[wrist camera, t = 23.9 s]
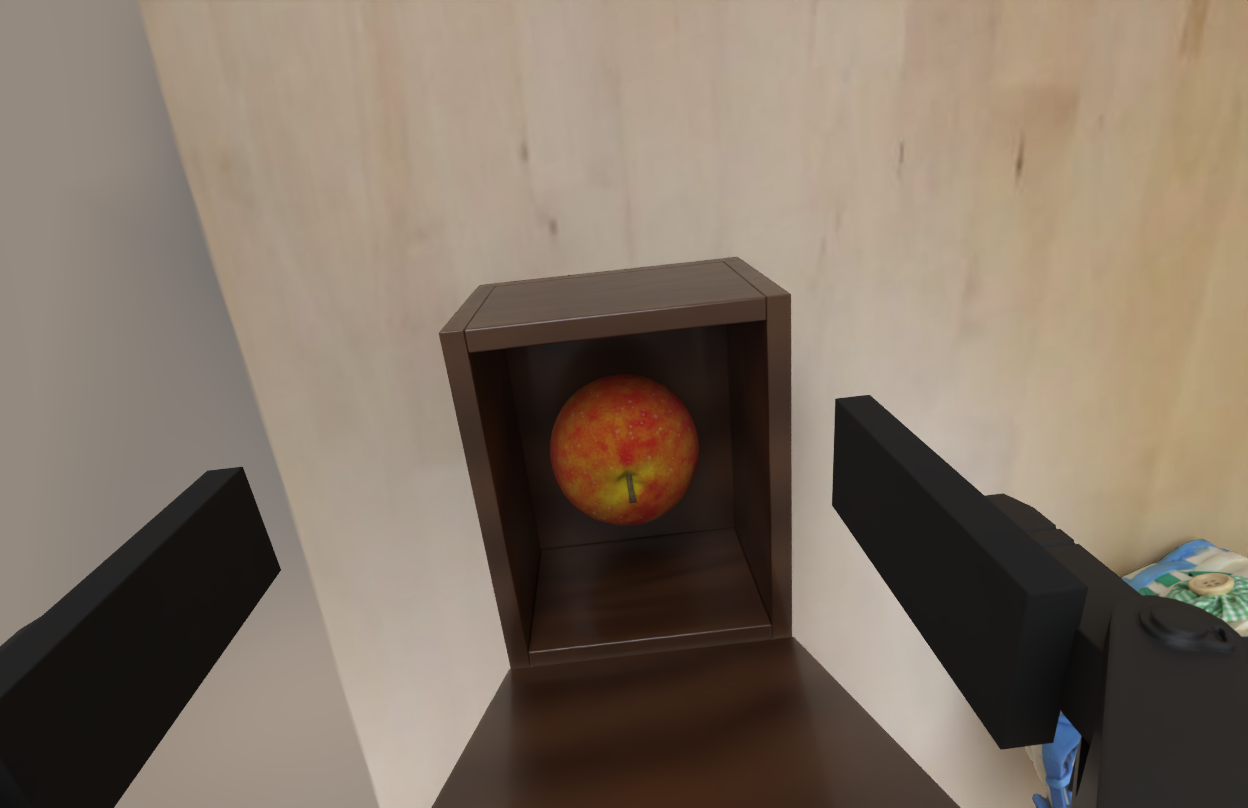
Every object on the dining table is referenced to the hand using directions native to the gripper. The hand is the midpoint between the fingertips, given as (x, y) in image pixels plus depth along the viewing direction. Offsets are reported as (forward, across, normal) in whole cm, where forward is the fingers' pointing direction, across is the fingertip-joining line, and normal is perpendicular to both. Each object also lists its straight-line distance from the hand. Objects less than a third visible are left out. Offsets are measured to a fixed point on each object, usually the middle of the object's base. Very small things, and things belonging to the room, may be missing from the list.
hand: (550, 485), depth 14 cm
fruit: (+18, +2, -6) cm, 19 cm away
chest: (+19, +2, -7) cm, 20 cm away
